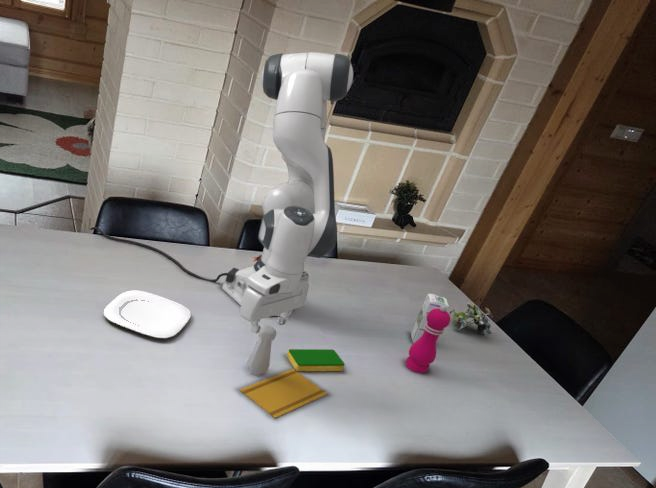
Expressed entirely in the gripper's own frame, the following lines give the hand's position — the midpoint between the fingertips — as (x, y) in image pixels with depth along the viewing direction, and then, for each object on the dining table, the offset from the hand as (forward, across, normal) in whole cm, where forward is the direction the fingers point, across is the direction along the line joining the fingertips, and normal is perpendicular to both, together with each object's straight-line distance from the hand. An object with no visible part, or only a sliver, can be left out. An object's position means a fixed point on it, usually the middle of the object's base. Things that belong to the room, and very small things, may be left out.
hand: (267, 327), depth 158 cm
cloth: (+13, 0, +10) cm, 17 cm away
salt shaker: (+13, 0, 0) cm, 13 cm away
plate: (+13, +10, -33) cm, 37 cm away
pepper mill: (+14, -46, +19) cm, 52 cm away
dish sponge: (+14, -18, +4) cm, 23 cm away
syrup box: (+14, -61, +11) cm, 64 cm away
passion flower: (+14, -83, +15) cm, 86 cm away
